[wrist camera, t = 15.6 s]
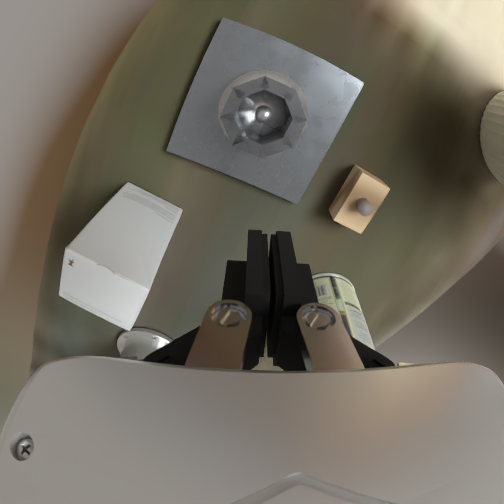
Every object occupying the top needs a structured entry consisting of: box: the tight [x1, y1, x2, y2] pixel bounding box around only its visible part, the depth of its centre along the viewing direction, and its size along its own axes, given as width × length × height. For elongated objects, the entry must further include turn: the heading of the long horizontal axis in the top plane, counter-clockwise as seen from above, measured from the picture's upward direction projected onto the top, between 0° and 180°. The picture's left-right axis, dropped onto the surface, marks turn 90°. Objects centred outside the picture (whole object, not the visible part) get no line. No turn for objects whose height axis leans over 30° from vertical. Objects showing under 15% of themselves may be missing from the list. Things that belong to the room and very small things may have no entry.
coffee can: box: [312, 273, 375, 350], centre depth 38 cm, size 10×10×14 cm
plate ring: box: [220, 76, 307, 158], centre depth 26 cm, size 7×7×4 cm
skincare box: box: [59, 182, 183, 331], centre depth 30 cm, size 8×7×16 cm
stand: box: [329, 165, 390, 233], centre depth 32 cm, size 6×4×4 cm, turn 156°
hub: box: [166, 18, 364, 204], centre depth 28 cm, size 16×16×4 cm
